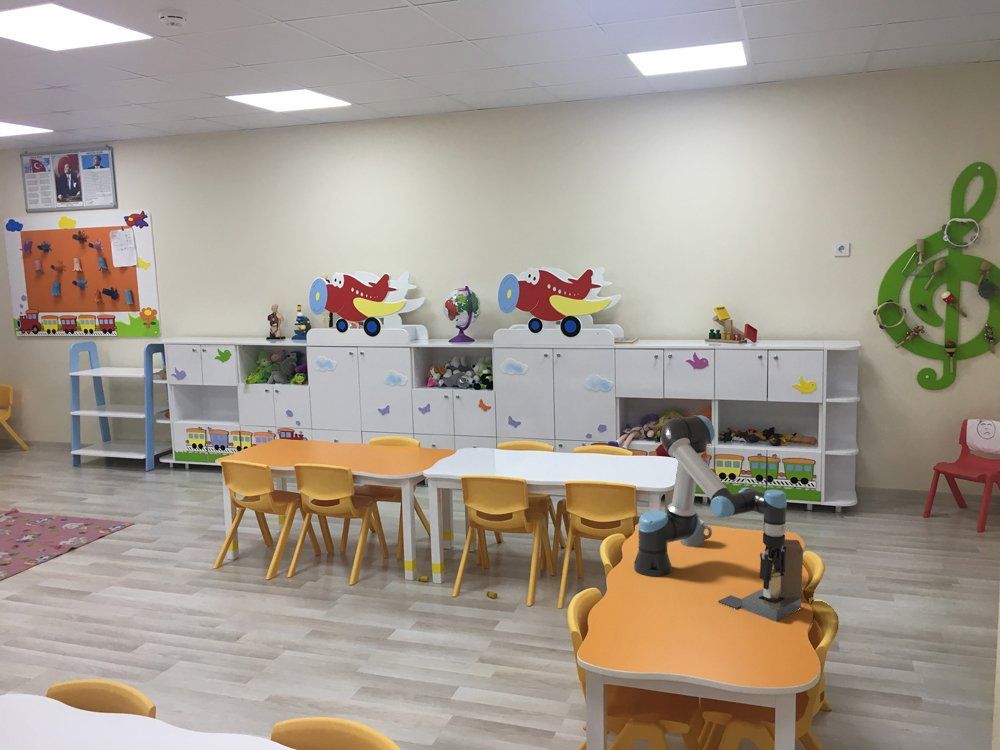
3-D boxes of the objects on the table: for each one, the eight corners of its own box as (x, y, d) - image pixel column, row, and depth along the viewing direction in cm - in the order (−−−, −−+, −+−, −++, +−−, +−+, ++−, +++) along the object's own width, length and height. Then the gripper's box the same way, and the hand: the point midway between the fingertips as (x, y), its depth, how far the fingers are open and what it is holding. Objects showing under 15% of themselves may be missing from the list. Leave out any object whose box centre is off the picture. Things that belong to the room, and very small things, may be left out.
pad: (717, 602, 302) (717, 600, 302) (730, 596, 307) (730, 595, 307) (736, 609, 296) (736, 607, 296) (749, 603, 301) (749, 601, 301)
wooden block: (801, 599, 304) (803, 548, 301) (773, 597, 306) (775, 546, 303) (797, 589, 313) (799, 539, 310) (770, 587, 315) (771, 537, 312)
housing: (741, 608, 297) (742, 598, 296) (766, 596, 307) (767, 586, 306) (776, 621, 286) (776, 610, 285) (800, 608, 296) (801, 598, 295)
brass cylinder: (760, 608, 297) (761, 571, 295) (768, 603, 300) (770, 567, 298) (773, 612, 293) (775, 575, 291) (781, 608, 296) (783, 572, 294)
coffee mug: (678, 545, 362) (679, 523, 361) (682, 538, 371) (683, 517, 370) (709, 549, 357) (710, 527, 356) (712, 541, 366) (713, 520, 365)
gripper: (768, 542, 284) (766, 605, 287) (797, 530, 295) (794, 590, 299) (750, 536, 289) (748, 598, 293) (778, 525, 301) (776, 584, 304)
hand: (771, 594), depth 296 cm, fingers closed on brass cylinder, 5 cm apart
